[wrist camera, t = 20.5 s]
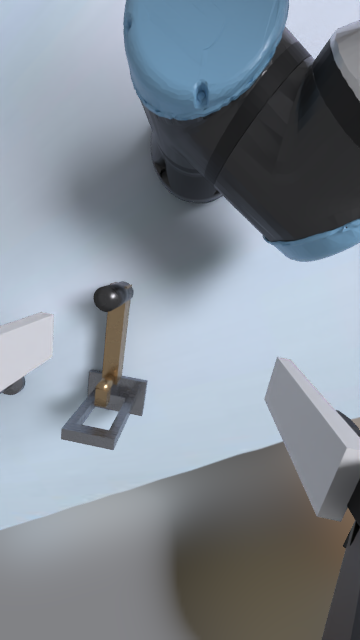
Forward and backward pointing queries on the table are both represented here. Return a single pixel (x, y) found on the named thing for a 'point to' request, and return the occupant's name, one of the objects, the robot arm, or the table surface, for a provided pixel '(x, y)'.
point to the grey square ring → (122, 399)
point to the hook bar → (113, 335)
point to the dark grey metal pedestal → (14, 387)
